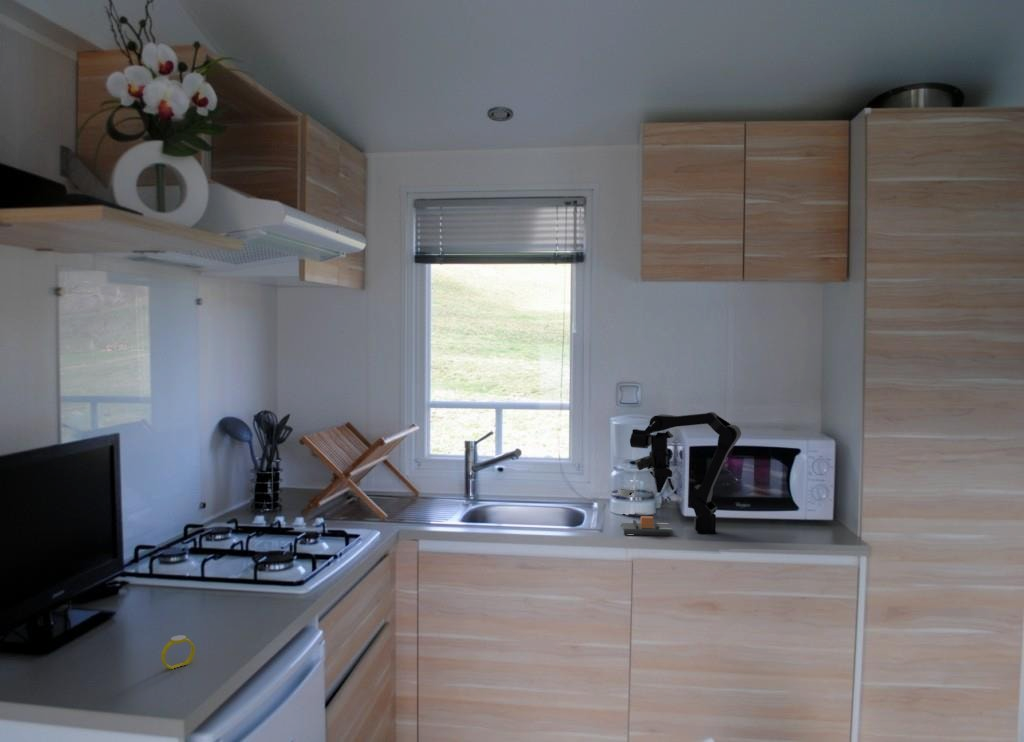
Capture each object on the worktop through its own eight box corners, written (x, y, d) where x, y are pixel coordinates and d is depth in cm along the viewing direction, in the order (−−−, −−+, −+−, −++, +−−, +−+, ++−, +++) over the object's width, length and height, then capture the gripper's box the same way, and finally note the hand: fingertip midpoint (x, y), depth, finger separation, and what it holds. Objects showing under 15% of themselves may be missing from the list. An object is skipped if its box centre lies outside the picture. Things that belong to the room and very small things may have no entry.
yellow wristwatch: (190, 661, 141) (192, 632, 141) (195, 666, 139) (197, 636, 139) (159, 668, 137) (161, 638, 137) (163, 673, 135) (165, 642, 135)
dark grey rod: (669, 535, 238) (669, 531, 238) (670, 536, 236) (670, 532, 236) (623, 534, 238) (623, 531, 238) (624, 535, 237) (624, 532, 237)
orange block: (652, 526, 241) (652, 516, 241) (653, 528, 238) (653, 518, 238) (640, 526, 241) (640, 516, 241) (641, 528, 238) (641, 517, 238)
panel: (668, 529, 246) (668, 520, 246) (672, 535, 238) (672, 526, 238) (621, 528, 247) (621, 520, 246) (623, 534, 239) (624, 525, 238)
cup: (628, 517, 263) (628, 491, 263) (613, 513, 270) (613, 487, 269) (643, 514, 268) (643, 488, 268) (627, 510, 274) (628, 485, 274)
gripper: (633, 445, 260) (633, 487, 261) (640, 453, 242) (639, 497, 242) (663, 446, 260) (663, 487, 260) (672, 453, 241) (672, 498, 242)
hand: (658, 492), depth 251 cm, fingers closed
